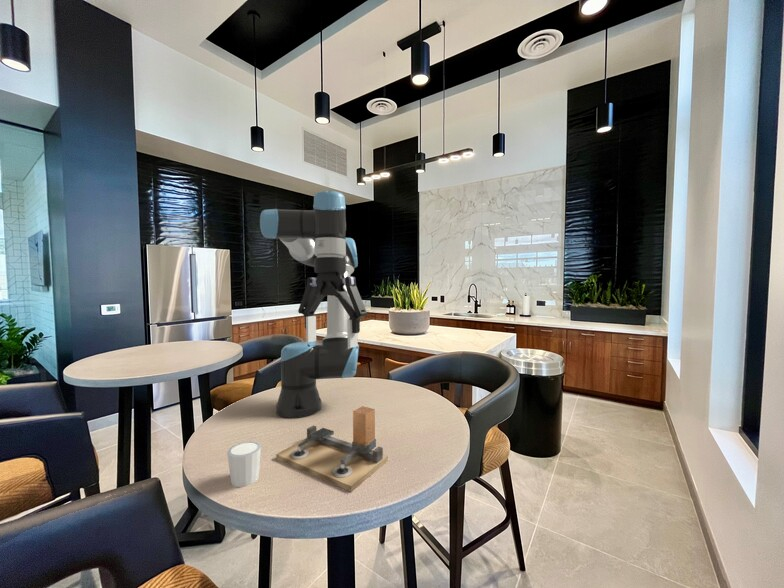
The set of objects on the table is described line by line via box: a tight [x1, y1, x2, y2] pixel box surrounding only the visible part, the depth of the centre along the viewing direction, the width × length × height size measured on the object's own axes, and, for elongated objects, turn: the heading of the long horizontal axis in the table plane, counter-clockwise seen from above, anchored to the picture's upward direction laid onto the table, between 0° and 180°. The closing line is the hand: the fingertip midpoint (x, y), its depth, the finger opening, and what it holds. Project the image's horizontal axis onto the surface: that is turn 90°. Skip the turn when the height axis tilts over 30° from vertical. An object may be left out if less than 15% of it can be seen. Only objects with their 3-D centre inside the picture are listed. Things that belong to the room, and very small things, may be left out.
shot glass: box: [227, 440, 262, 488], centre depth 71 cm, size 7×7×7 cm
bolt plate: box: [275, 425, 389, 493], centre depth 78 cm, size 24×14×4 cm, turn 58°
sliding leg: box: [341, 405, 377, 471], centre depth 75 cm, size 4×11×11 cm, turn 148°
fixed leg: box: [298, 427, 335, 454], centre depth 83 cm, size 4×11×2 cm, turn 148°
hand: (331, 344), depth 78 cm, fingers open, 13 cm apart
